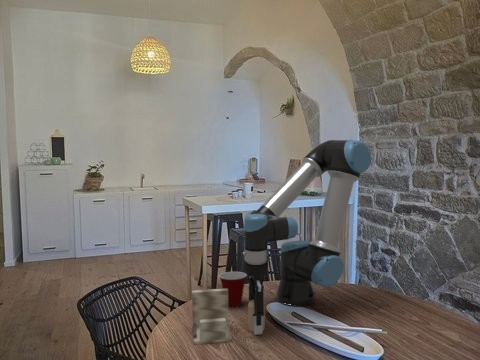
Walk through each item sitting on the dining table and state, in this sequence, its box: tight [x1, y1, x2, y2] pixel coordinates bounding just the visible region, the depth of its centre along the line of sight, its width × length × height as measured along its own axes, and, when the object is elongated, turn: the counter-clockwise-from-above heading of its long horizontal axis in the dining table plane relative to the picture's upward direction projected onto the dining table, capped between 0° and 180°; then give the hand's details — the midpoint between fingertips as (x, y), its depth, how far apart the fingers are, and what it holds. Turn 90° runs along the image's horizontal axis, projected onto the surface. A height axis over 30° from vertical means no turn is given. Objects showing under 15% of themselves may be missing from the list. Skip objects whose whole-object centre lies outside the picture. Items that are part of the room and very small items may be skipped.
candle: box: [247, 299, 266, 333], centre depth 137 cm, size 6×6×10 cm
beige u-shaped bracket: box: [191, 288, 233, 345], centre depth 134 cm, size 12×12×13 cm
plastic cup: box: [218, 271, 248, 308], centre depth 158 cm, size 11×11×12 cm
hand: (256, 328), depth 137 cm, fingers open, 7 cm apart
